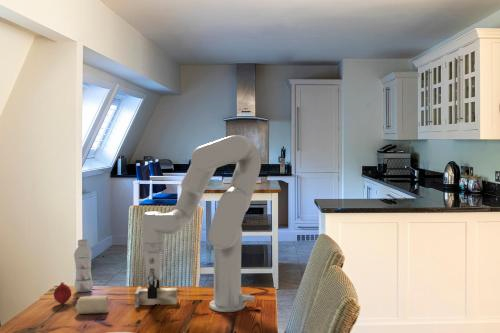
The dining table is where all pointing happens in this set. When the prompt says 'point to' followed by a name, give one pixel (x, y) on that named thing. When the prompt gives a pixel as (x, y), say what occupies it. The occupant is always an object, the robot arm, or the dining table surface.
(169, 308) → the dining table surface
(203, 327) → the dining table surface
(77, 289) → the plastic bottle
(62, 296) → the onion
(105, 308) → the candle
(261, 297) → the dining table surface
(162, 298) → the cream upright plaque
